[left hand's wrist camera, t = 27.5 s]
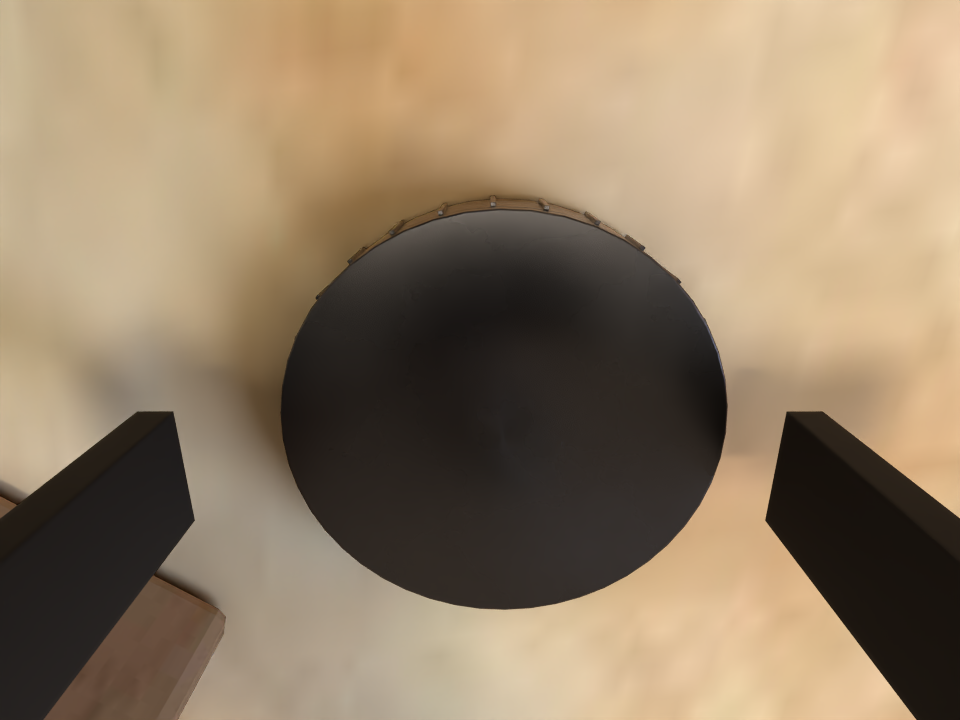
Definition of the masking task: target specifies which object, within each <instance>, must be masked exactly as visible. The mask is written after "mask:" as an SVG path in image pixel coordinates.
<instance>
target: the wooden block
mask: <svg viewBox="0 0 960 720" xmlns="http://www.w3.org/2000/svg"><path fill="white" fill-rule="evenodd" d="M16 506H17V505H16V504H14V503H12V502H10V501H8V500H6V499H4V498H2V497H0V518H1V517H3V516H4V515H5V514H7V513H8V512H9V511H10V510H12V509H13V508H14V507H16ZM225 618H226V617H225V615H224V614H223V613H222V612H221V611H220V610H219V609H217V608H215V607H213V606H212V605H210V604H208V603H206V602H204V601H202V600H200V599H198V598H196V597H194V596H192V595H190V594H188V593H186V592H184V591H182V590H181V589H179V588H177V587H175V586H173V585H171V584H169V583H167V582H165V581H163V580H161V579H159V578H157V577H155V576H152V577H151V579H150V580H149V581H148V583H147V584H146V585H145V587H144V588H143V589H142V591H141V592H140V593H139V595H138V596H137V597H136V599H135V600H134V601H133V602H132V604H131V605H130V606H129V608H128V609H127V610H126V612H125V613H124V614H123V616H122V617H121V618H120V620H119V621H118V622H117V624H116V625H115V626H114V628H113V629H112V630H111V631H110V633H109V634H108V635H107V637H106V638H105V639H104V641H103V642H102V643H101V645H100V646H99V647H98V649H97V650H96V651H95V653H94V654H93V655H92V656H91V658H90V659H89V660H88V662H87V663H86V664H85V666H84V667H83V668H82V670H81V671H80V672H79V674H78V675H77V676H76V678H75V679H74V680H73V682H72V683H71V684H70V685H69V687H68V688H67V689H66V691H65V692H64V693H63V695H62V696H61V697H60V699H59V700H58V701H57V703H56V704H55V705H54V707H53V708H52V709H51V710H50V712H49V713H48V714H47V716H46V717H45V718H44V720H178V718H179V716H180V714H181V713H182V711H183V709H184V707H185V705H186V703H187V701H188V699H189V698H190V696H191V694H192V692H193V690H194V688H195V686H196V685H197V683H198V681H199V679H200V677H201V675H202V673H203V671H204V670H205V668H206V666H207V664H208V662H209V660H210V658H211V657H212V655H213V653H214V651H215V649H216V647H217V645H218V643H219V642H220V640H221V638H222V636H223V634H224V625H225Z"/></svg>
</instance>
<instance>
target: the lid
mask: <svg viewBox="0 0 960 720" xmlns="http://www.w3.org/2000/svg"><path fill="white" fill-rule="evenodd" d="M644 249H645V247H644V246H642V245H641V244H640V243H638V242H637V241H636V240H634V239H633V238H631V237H630V236H629V235H626V237H625V238H624V237H623V236H621V235H620V234H619V233H617V232H616V231H614V230H613V229H611V228H610V227H608V226H606V225H604V224H602V223H600V221H599V220H598V219H597V218H595V217H594V216H593V215H591V214H590V213H588V212H585V215H584V214H581V213H578V212H575V211H572V210H569V209H566V208H563V207H560V206H556V205H552V204H547V202H546V201H545V200H544V199H540V198H539V202H535V201H529V200H514V199H495V196H490V200H480V201H469V202H465V203H460V204H456V205H452V206H448V205H447V203H445V204H442V206H441V207H440V209H437V210H435V211H432V212H429V213H427V214H424V215H421V216H419V217H416V218H414V219H412V220H410V221H408V222H407V223H405V224H404V223H403V221H400V222H398V223H397V224H396V225H395V226H394V227H393V228H392V229H391V230H390V231H389V233H387V234H386V235H385V236H383V237H382V238H381V239H379V240H378V241H377V242H375V243H374V244H373V245H371V246H370V247H369V248H367V249H365V247H363V248H362V249H361V250H360V251H358V252H357V253H356V254H355V255H354V256H353V257H352V258H350V259H349V260H348V261H347V262H348V263H349V264H350V265H349V266H348V267H347V268H346V269H345V270H344V271H343V272H342V273H341V274H340V275H339V276H338V277H337V278H336V279H335V280H333V281H332V282H331V283H330V284H329V285H328V286H327V287H326V288H325V289H324V290H323V291H322V292H320V293H319V294H318V295H317V297H316V299H317V302H316V303H315V304H314V305H313V307H312V308H311V310H310V311H309V313H308V315H307V317H306V319H305V321H304V322H303V324H302V326H301V328H300V330H299V332H298V333H297V335H296V337H295V341H294V344H293V347H292V349H291V352H290V355H289V358H288V360H287V365H286V370H285V375H284V380H283V385H282V397H281V423H282V434H283V441H284V446H285V450H286V454H287V458H288V463H289V466H290V468H291V471H292V474H293V476H294V479H295V481H296V484H297V486H298V489H299V490H300V492H301V494H302V496H303V498H304V500H305V501H306V503H307V505H308V507H309V509H310V510H311V512H312V513H313V514H314V516H315V517H316V518H317V520H318V521H319V523H320V524H321V525H322V527H323V528H324V529H325V531H326V532H327V533H328V534H329V535H330V536H331V537H332V538H333V539H334V540H335V541H336V542H337V543H338V544H339V545H340V546H341V547H342V548H343V549H344V550H345V551H346V552H347V553H349V554H350V555H351V556H352V557H353V558H355V559H356V560H357V561H358V562H359V563H361V564H362V565H363V566H365V567H366V568H368V569H369V570H371V571H373V572H374V573H376V574H377V575H379V576H380V577H382V578H383V579H385V580H387V581H389V582H391V583H393V584H395V585H397V586H399V587H401V588H403V589H405V590H408V591H411V592H413V593H416V594H419V595H421V596H424V597H427V598H429V599H433V600H437V601H441V602H445V603H449V604H453V605H459V606H466V607H472V608H479V609H502V610H507V609H524V608H534V607H540V606H546V605H552V604H557V603H561V602H565V601H568V600H572V599H576V598H579V597H582V596H585V595H587V594H590V593H592V592H595V591H597V590H600V589H603V588H605V587H607V586H609V585H611V584H613V583H614V582H616V581H618V580H620V579H622V578H624V577H626V576H628V575H629V574H631V573H632V572H634V571H635V570H637V569H638V568H639V567H641V566H642V565H644V564H645V563H647V562H648V561H649V560H651V559H652V558H653V557H654V556H655V555H656V554H658V553H659V552H660V551H661V550H662V549H663V548H665V547H666V546H667V545H668V544H669V543H670V542H671V541H672V540H673V538H674V537H675V536H676V535H677V534H678V533H679V532H680V531H681V530H682V529H683V528H684V526H685V525H686V524H687V522H688V521H689V519H690V518H691V517H692V515H693V514H694V512H695V511H696V510H697V508H698V507H699V505H700V503H701V502H702V500H703V498H704V496H705V494H706V492H707V490H708V488H709V486H710V484H711V483H712V480H713V477H714V474H715V472H716V469H717V466H718V463H719V461H720V458H721V453H722V448H723V444H724V439H725V434H726V422H727V406H728V405H727V394H726V382H725V376H724V372H723V367H722V363H721V359H720V355H719V351H718V349H717V346H716V344H715V342H714V339H713V337H712V334H711V332H710V329H709V327H708V325H707V322H706V320H705V318H703V316H702V315H701V313H700V311H699V310H698V308H697V306H696V305H695V303H694V301H693V300H692V299H691V298H690V296H689V295H688V294H687V293H686V292H685V290H684V289H683V288H682V287H681V285H680V283H681V281H680V280H679V279H678V278H677V277H675V276H674V275H673V274H671V273H670V272H669V271H667V270H666V269H665V268H663V267H662V266H661V265H659V264H658V263H657V262H656V261H655V260H654V259H653V258H652V257H650V256H649V255H648V254H646V253H645V252H644V251H643V250H644Z"/></svg>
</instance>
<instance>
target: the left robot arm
mask: <svg viewBox="0 0 960 720" xmlns="http://www.w3.org/2000/svg"><path fill="white" fill-rule="evenodd" d="M194 521H195V519H194V514H193V509H192V504H191V499H190V494H189V489H188V484H187V479H186V474H185V469H184V464H183V459H182V453H181V448H180V443H179V438H178V433H177V428H176V423H175V418H174V413H173V412H136V413H135V414H134V415H132V416H131V417H130V418H129V419H127V420H126V421H125V422H123V423H122V424H121V425H120V426H118V427H117V428H116V429H114V430H113V431H112V432H111V433H109V434H108V435H107V436H105V437H104V438H103V439H102V440H100V441H99V442H98V443H96V444H95V445H94V446H93V447H91V448H90V449H89V450H87V451H86V452H85V453H84V454H82V455H81V456H80V457H78V458H77V459H76V460H75V461H73V462H72V463H71V464H69V465H68V466H67V467H66V468H64V469H63V470H62V471H60V472H59V473H58V474H57V475H55V476H54V477H53V478H52V479H50V480H49V481H48V482H46V483H45V484H44V485H43V486H41V487H40V488H39V489H37V490H36V491H35V492H34V493H32V494H31V495H30V496H28V497H27V498H26V499H25V500H23V501H22V502H21V503H19V504H18V505H17V506H16V507H14V508H13V509H12V510H10V511H9V512H8V513H7V514H5V515H4V516H3V517H1V518H0V720H44V718H45V717H46V716H47V714H48V713H49V712H50V710H51V709H52V708H53V707H54V705H55V704H56V703H57V701H58V700H59V699H60V697H61V696H62V695H63V693H64V692H65V691H66V689H67V688H68V687H69V685H70V684H71V683H72V682H73V680H74V679H75V678H76V676H77V675H78V674H79V672H80V671H81V670H82V668H83V667H84V666H85V664H86V663H87V662H88V660H89V659H90V658H91V656H92V655H93V654H94V653H95V651H96V650H97V649H98V647H99V646H100V645H101V643H102V642H103V641H104V639H105V638H106V637H107V635H108V634H109V633H110V631H111V630H112V629H113V628H114V626H115V625H116V624H117V622H118V621H119V620H120V618H121V617H122V616H123V614H124V613H125V612H126V610H127V609H128V608H129V606H130V605H131V604H132V602H133V601H134V600H135V599H136V597H137V596H138V595H139V593H140V592H141V591H142V589H143V588H144V587H145V585H146V584H147V583H148V581H149V580H150V579H151V577H152V576H153V575H154V573H155V572H156V571H157V570H158V568H159V567H160V566H161V564H162V563H163V562H164V560H165V559H166V558H167V556H168V555H169V554H170V552H171V551H172V550H173V548H174V547H175V546H176V545H177V543H178V542H179V541H180V539H181V538H182V537H183V535H184V534H185V533H186V531H187V530H188V529H189V527H190V526H191V525H192V523H193V522H194ZM765 521H766V522H767V523H768V525H769V526H770V527H771V529H772V530H773V531H774V533H775V534H776V535H777V537H778V538H779V539H780V541H781V542H782V543H783V545H784V546H785V547H786V548H787V550H788V551H789V552H790V554H791V555H792V556H793V558H794V559H795V560H796V562H797V563H798V564H799V566H800V567H801V568H802V570H803V571H804V572H805V573H806V575H807V576H808V577H809V579H810V580H811V581H812V583H813V584H814V585H815V587H816V588H817V589H818V591H819V592H820V593H821V595H822V596H823V597H824V599H825V600H826V601H827V602H828V604H829V605H830V606H831V608H832V609H833V610H834V612H835V613H836V614H837V616H838V617H839V618H840V620H841V621H842V622H843V624H844V625H845V626H846V628H847V629H848V630H849V631H850V633H851V634H852V635H853V637H854V638H855V639H856V641H857V642H858V643H859V645H860V646H861V647H862V649H863V650H864V651H865V653H866V654H867V655H868V656H869V658H870V659H871V660H872V662H873V663H874V664H875V666H876V667H877V668H878V670H879V671H880V672H881V674H882V675H883V676H884V678H885V679H886V680H887V682H888V683H889V684H890V685H891V687H892V688H893V689H894V691H895V692H896V693H897V695H898V696H899V697H900V699H901V700H902V701H903V703H904V704H905V705H906V707H907V708H908V709H909V710H910V712H911V713H912V714H913V716H914V717H915V718H916V720H960V518H959V517H957V516H956V515H955V514H953V513H952V512H951V511H950V510H948V509H947V508H946V507H944V506H943V505H942V504H941V503H939V502H938V501H937V500H935V499H934V498H933V497H932V496H930V495H929V494H928V493H926V492H925V491H924V490H923V489H921V488H920V487H919V486H917V485H916V484H915V483H914V482H912V481H911V480H910V479H908V478H907V477H906V476H905V475H903V474H902V473H901V472H900V471H898V470H897V469H896V468H894V467H893V466H892V465H891V464H889V463H888V462H887V461H885V460H884V459H883V458H882V457H880V456H879V455H878V454H876V453H875V452H874V451H873V450H871V449H870V448H869V447H867V446H866V445H865V444H864V443H862V442H861V441H860V440H858V439H857V438H856V437H855V436H853V435H852V434H851V433H849V432H848V431H847V430H846V429H844V428H843V427H842V426H840V425H839V424H838V423H837V422H835V421H834V420H833V419H831V418H830V417H829V416H828V415H826V414H825V413H824V412H787V413H786V418H785V423H784V428H783V433H782V438H781V443H780V448H779V453H778V459H777V464H776V469H775V474H774V479H773V484H772V489H771V494H770V499H769V504H768V509H767V514H766V519H765Z"/></svg>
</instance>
